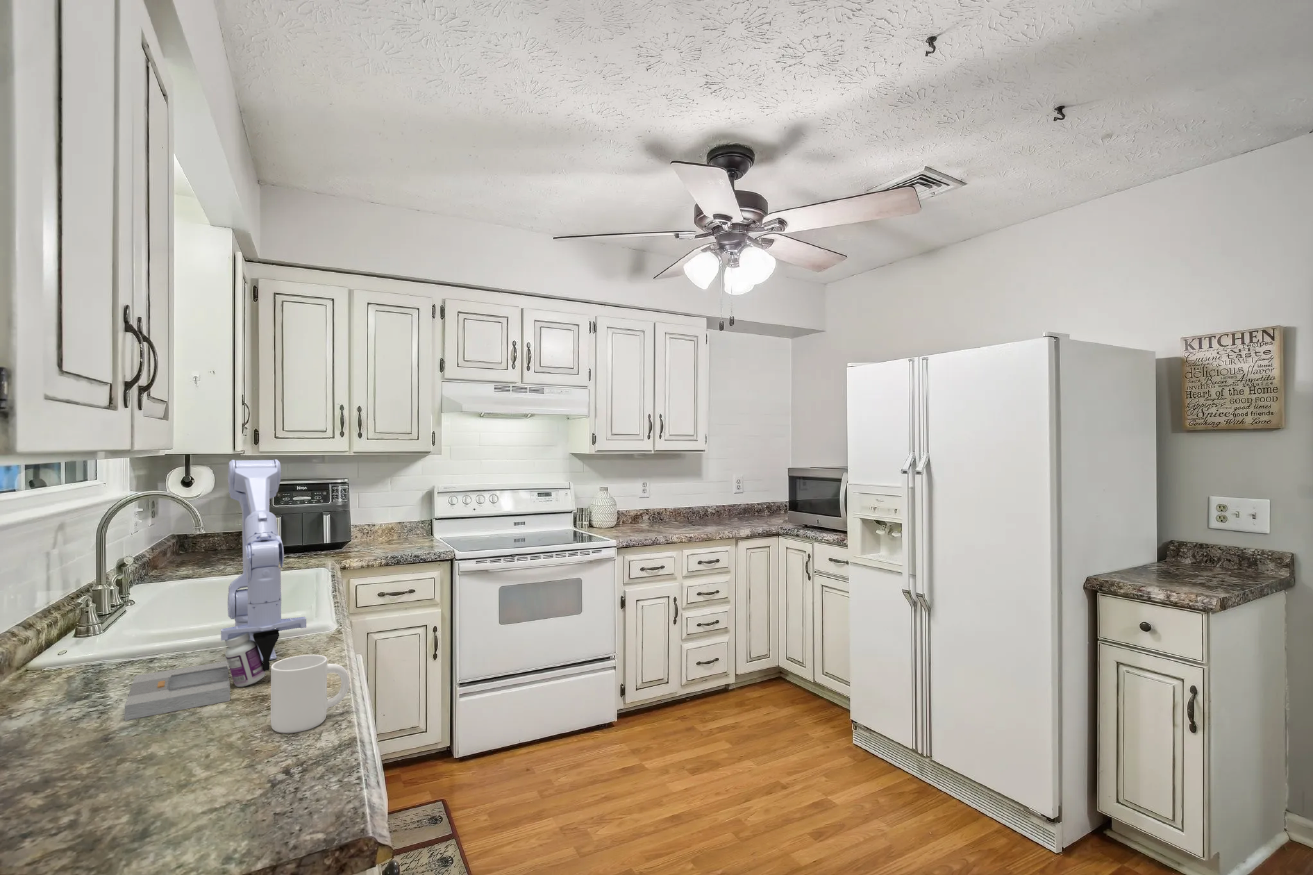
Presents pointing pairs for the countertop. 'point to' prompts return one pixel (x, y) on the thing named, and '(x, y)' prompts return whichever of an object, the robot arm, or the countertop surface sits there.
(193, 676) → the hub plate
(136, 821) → the countertop surface
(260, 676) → the pill bottle
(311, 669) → the mug
